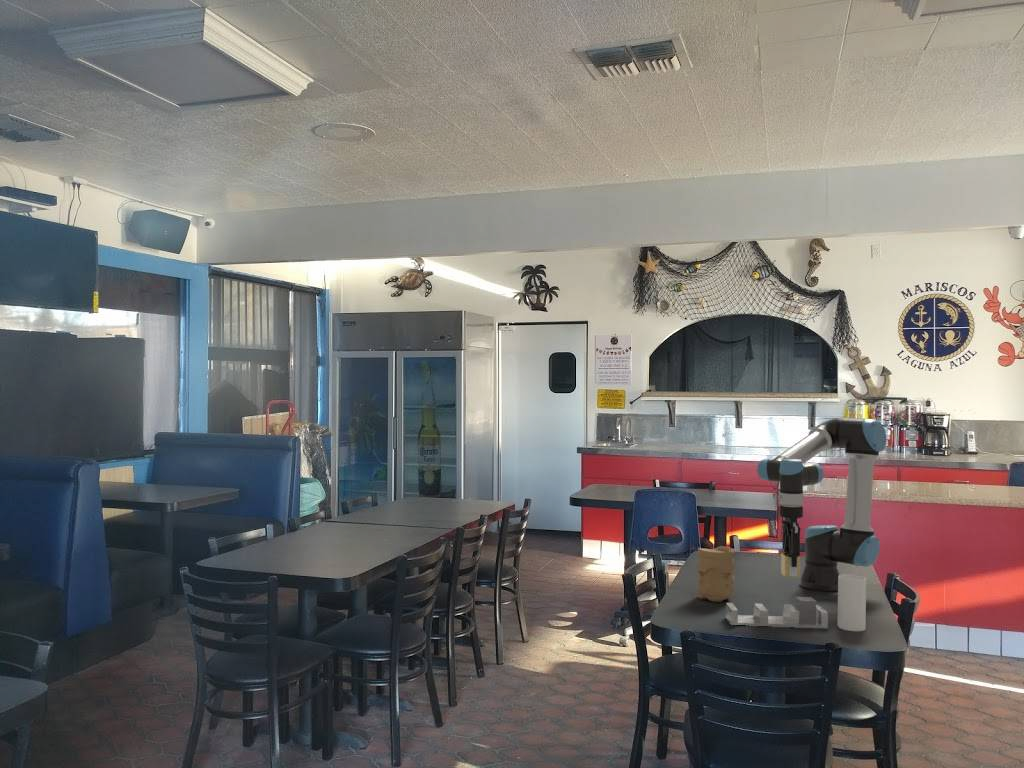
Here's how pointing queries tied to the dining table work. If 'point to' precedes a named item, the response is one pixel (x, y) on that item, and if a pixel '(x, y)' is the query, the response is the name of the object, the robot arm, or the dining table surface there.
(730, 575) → the container
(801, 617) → the white slotted rack
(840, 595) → the cup
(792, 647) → the dining table surface
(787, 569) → the tan wooden cube
